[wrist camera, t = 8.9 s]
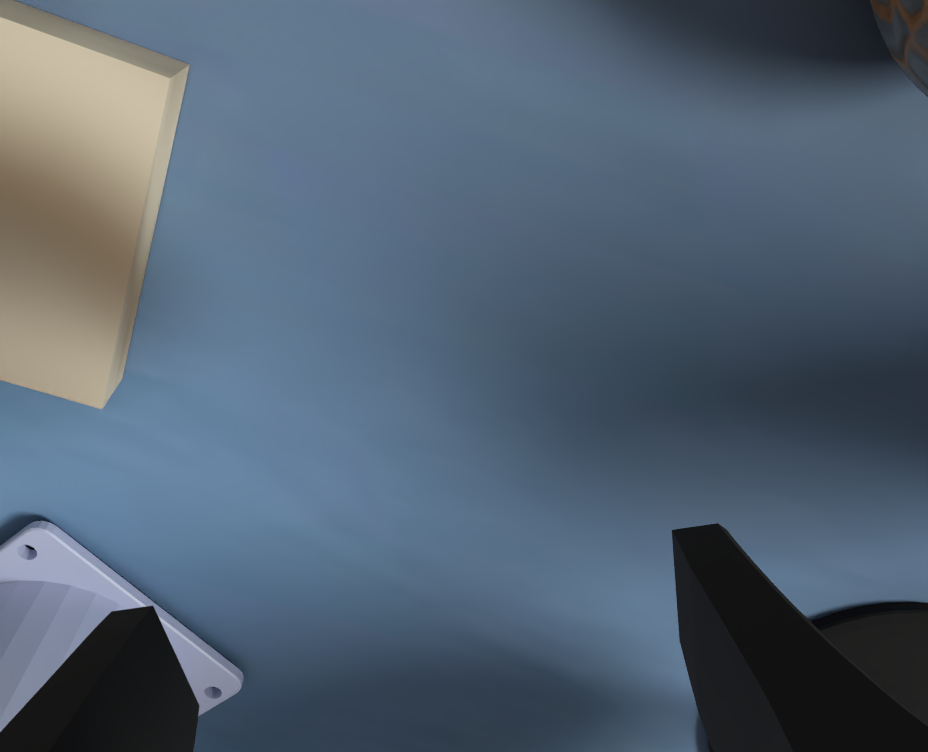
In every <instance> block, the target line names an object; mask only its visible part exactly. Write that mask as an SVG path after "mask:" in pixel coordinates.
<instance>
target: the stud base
mask: <svg viewBox="0 0 928 752" xmlns="http://www.w3.org/2000/svg"><path fill="white" fill-rule="evenodd" d="M189 66H190V65H189V64H187V63H184V62H181V61H179V60H176V59H173V58H170V57H168V56H165V55H162V54H159V53H157V52H154V51H151V50H148V49H146V48H143V47H140V46H138V45H135V44H132V43H129V42H127V41H124V40H121V39H118V38H116V37H113V36H110V35H108V34H105V33H102V32H99V31H97V30H94V29H91V28H88V27H86V26H83V25H80V24H77V23H75V22H72V21H69V20H67V19H64V18H61V17H58V16H56V15H53V14H50V13H47V12H45V11H42V10H39V9H37V8H34V7H31V6H28V5H26V4H23V3H20V2H17V1H15V0H0V380H2V381H5V382H9V383H12V384H16V385H19V386H23V387H26V388H30V389H33V390H37V391H40V392H44V393H47V394H51V395H54V396H58V397H61V398H65V399H68V400H72V401H75V402H78V403H82V404H85V405H89V406H92V407H96V408H99V409H103V407H104V406H105V404H106V403H107V401H108V399H109V398H110V396H111V395H112V393H113V392H114V390H115V389H116V387H117V386H118V384H119V383H120V381H121V380H122V378H123V373H124V369H125V364H126V360H127V355H128V350H129V346H130V341H131V336H132V332H133V327H134V322H135V318H136V313H137V308H138V304H139V299H140V294H141V290H142V285H143V280H144V276H145V271H146V266H147V262H148V257H149V252H150V248H151V243H152V238H153V234H154V229H155V224H156V220H157V215H158V210H159V206H160V201H161V196H162V192H163V187H164V182H165V178H166V173H167V168H168V164H169V159H170V154H171V150H172V145H173V140H174V136H175V131H176V126H177V122H178V117H179V113H180V108H181V103H182V99H183V94H184V89H185V85H186V80H187V75H188V71H189Z"/></svg>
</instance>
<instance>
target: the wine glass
mask: <svg viewBox="0 0 928 752" xmlns="http://www.w3.org/2000/svg"><path fill="white" fill-rule="evenodd" d="M811 623H812V624H813V625H814V626H815V627H816V628H817V629H818V630H819V631H820V632H822V633H823V634H824V635H825V636H826V637H827V638H828V639H829V640H830V641H831V642H832V643H833V644H834V645H835V646H836V647H837V648H838V649H839V650H840V651H842V652H843V653H844V654H845V655H846V656H847V657H848V658H849V659H850V660H851V661H852V662H854V663H855V664H856V665H857V666H858V667H859V668H860V669H861V670H863V671H864V672H865V673H866V674H867V675H868V676H869V677H871V678H872V679H873V680H874V681H875V682H876V683H877V684H879V685H880V686H881V687H882V688H883V689H884V690H886V691H887V692H888V693H889V694H890V695H892V696H893V697H894V698H895V699H896V700H897V701H899V702H900V703H901V704H902V705H904V706H905V707H906V708H907V709H908V710H910V711H911V712H912V713H913V714H915V715H916V716H917V717H918V718H920V719H921V720H922V721H924V722H925V723H926V724H927V725H928V604H919V603H904V604H884V605H876V606H869V607H862V608H857V609H853V610H849V611H845V612H841V613H837V614H834V615H831V616H828V617H825V618H822V619H820V620H817V621H814V622H811ZM708 745H709V751H710V752H713V749H712V747H711V744H710V741H709V739H708Z"/></svg>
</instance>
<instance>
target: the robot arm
mask: <svg viewBox="0 0 928 752" xmlns="http://www.w3.org/2000/svg"><path fill="white" fill-rule="evenodd" d="M672 539H673V553H674V567H675V581H676V595H677V609H678V623H679V638H680V643H681V647H682V651H683V655H684V659H685V663H686V667H687V671H688V674H689V678H690V682H691V686H692V690H693V693H694V697H695V701H696V705H697V708H698V712H699V715H700V717H701V720H702V723H703V725H704V728H705V731H706V733H707V736H708V739H709V741H710V744H711V747H712V749H713V752H928V725H927V724H926V723H925V722H924V721H922V720H921V719H920V718H918V717H917V716H916V715H915V714H913V713H912V712H911V711H910V710H908V709H907V708H906V707H905V706H904V705H902V704H901V703H900V702H899V701H897V700H896V699H895V698H894V697H893V696H892V695H890V694H889V693H888V692H887V691H886V690H884V689H883V688H882V687H881V686H880V685H879V684H877V683H876V682H875V681H874V680H873V679H872V678H871V677H869V676H868V675H867V674H866V673H865V672H864V671H863V670H861V669H860V668H859V667H858V666H857V665H856V664H855V663H854V662H852V661H851V660H850V659H849V658H848V657H847V656H846V655H845V654H844V653H843V652H842V651H840V650H839V649H838V648H837V647H836V646H835V645H834V644H833V643H832V642H831V641H830V640H829V639H828V638H827V637H826V636H825V635H824V634H823V633H822V632H820V631H819V630H818V629H817V628H816V627H815V626H814V625H813V624H812V623H811V622H810V621H809V620H808V619H807V618H806V617H805V616H804V615H803V614H802V613H801V612H800V611H799V610H798V609H797V608H796V607H795V606H794V605H793V604H792V603H791V602H790V601H789V600H788V599H787V598H786V597H785V596H784V595H783V594H782V592H781V591H780V590H779V589H778V588H777V587H776V586H775V585H774V584H773V583H772V582H771V581H770V580H769V578H768V577H767V576H766V575H765V574H764V573H763V572H762V571H761V570H760V569H759V568H758V566H757V565H756V564H755V563H754V562H753V561H752V560H751V558H750V557H749V556H748V555H747V554H746V553H745V552H744V550H743V549H742V548H741V547H740V546H739V544H738V543H737V542H736V541H735V540H734V538H733V537H732V536H731V535H730V533H729V532H728V531H727V530H726V529H725V528H724V527H722V526H721V525H719V524H718V523H717V524H710V525H704V526H697V527H690V528H683V529H676V530H672ZM25 545H29V546H31V547H33V548H34V549H35V550H31V549H29V548H27V547H26V546H25ZM243 679H244V676H243V673H242V672H241V671H240V670H239V669H238V668H237V667H236V666H234V665H233V664H232V663H231V662H229V661H228V660H227V659H226V658H224V657H223V656H222V655H220V654H219V653H218V652H217V651H215V650H214V649H213V648H211V647H210V646H209V645H208V644H206V643H205V642H204V641H203V640H201V639H200V638H199V637H197V636H196V635H195V634H194V633H192V632H191V631H190V630H188V629H187V628H186V627H185V626H183V625H182V624H181V623H180V622H178V621H177V620H176V619H174V618H173V617H172V616H171V615H169V614H168V613H167V612H165V611H164V610H163V609H162V608H160V607H159V606H158V605H157V604H155V603H154V602H153V601H151V600H150V599H149V598H148V597H146V596H145V595H144V594H142V593H141V592H140V591H139V590H137V589H136V588H135V587H134V586H132V585H131V584H130V583H128V582H127V581H126V580H125V579H123V578H122V577H121V576H120V575H118V574H117V573H116V572H114V571H113V570H112V569H111V568H109V567H108V566H107V565H105V564H104V563H103V562H102V561H100V560H99V559H98V558H97V557H95V556H94V555H93V554H91V553H90V552H89V551H88V550H86V549H85V548H84V547H82V546H81V545H80V544H79V543H77V542H76V541H75V540H74V539H72V538H71V537H70V536H68V535H67V534H66V533H65V532H63V531H62V530H61V529H59V528H58V527H57V526H55V525H54V524H52V523H50V522H46V521H35V522H32V523H30V524H29V525H27V526H26V527H25V528H23V529H22V530H21V531H19V532H18V533H17V534H15V535H14V536H13V537H11V538H10V539H9V540H7V541H6V542H5V543H3V544H2V545H1V546H0V752H193V748H194V742H195V735H196V728H197V721H198V716H200V715H202V714H203V713H205V712H207V711H208V710H210V709H212V708H213V707H215V706H217V705H218V704H220V703H221V702H223V701H225V700H226V699H228V698H230V697H231V696H233V695H235V694H236V693H238V692H239V691H240V690H241V687H242V683H243ZM213 687H216V688H213Z"/></svg>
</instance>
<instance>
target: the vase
mask: <svg viewBox="0 0 928 752" xmlns="http://www.w3.org/2000/svg"><path fill="white" fill-rule="evenodd" d="M870 1H871V6H872V9H873V13H874V17H875V19H876V22H877V25H878V27H879V30H880V32H881V35H882V37H883V39H884V41H885V43H886V46H887V48H888V49H889V51H890V53H891V54H892V56H893V58H894V59H895V61H896V62H897V63H898V65H899V66H900V67H901V69H902V70H903V71H904V73H905V74H906V75H907V76H908V78H909V79H910V80H911V81H912V82H913V83H914V84H915V86H916V87H917V88H918V89H919V90H921V91H922V92H923V93H924V94H925V95H926V96H927V97H928V0H870Z"/></svg>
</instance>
